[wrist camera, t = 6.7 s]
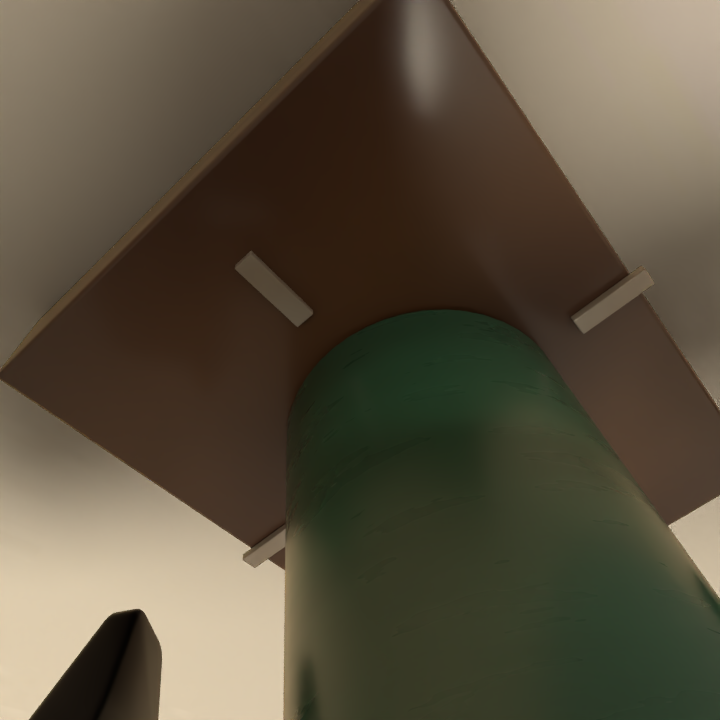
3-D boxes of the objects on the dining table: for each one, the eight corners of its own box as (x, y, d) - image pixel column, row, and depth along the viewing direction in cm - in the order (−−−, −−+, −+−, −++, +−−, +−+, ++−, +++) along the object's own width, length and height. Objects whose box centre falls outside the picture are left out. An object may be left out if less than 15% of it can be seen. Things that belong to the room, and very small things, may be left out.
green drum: (406, 567, 13) (508, 1073, 7) (226, 434, 11) (143, 1004, 5) (611, 431, 12) (967, 911, 6) (452, 245, 10) (755, 706, 3)
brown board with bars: (714, 412, 15) (776, 472, 13) (408, 604, 17) (423, 678, 15) (406, -48, 9) (435, -60, 7) (29, 329, 12) (-19, 390, 10)
